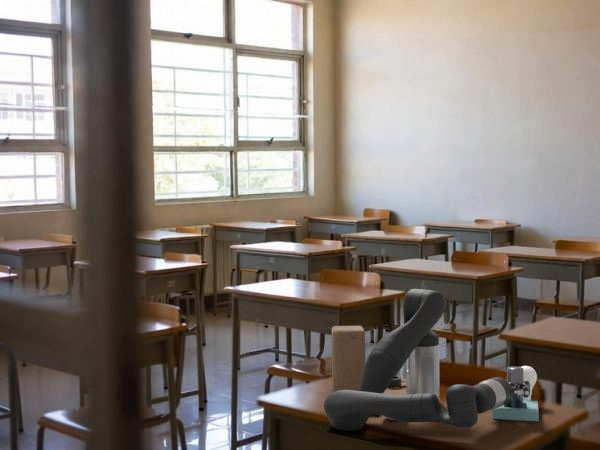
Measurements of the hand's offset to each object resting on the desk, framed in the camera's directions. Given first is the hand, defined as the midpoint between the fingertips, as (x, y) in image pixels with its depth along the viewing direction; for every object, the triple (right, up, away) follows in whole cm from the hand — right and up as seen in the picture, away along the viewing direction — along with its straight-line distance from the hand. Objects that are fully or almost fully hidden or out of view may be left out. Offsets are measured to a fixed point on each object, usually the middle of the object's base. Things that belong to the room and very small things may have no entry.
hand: (519, 383), depth 221 cm
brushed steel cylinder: (-2, -7, -2) cm, 8 cm away
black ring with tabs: (-31, -8, +33) cm, 46 cm away
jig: (-2, -8, -2) cm, 8 cm away
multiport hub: (-40, -9, +4) cm, 42 cm away
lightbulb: (+4, -8, +9) cm, 13 cm away
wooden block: (-46, -8, +26) cm, 53 cm away
